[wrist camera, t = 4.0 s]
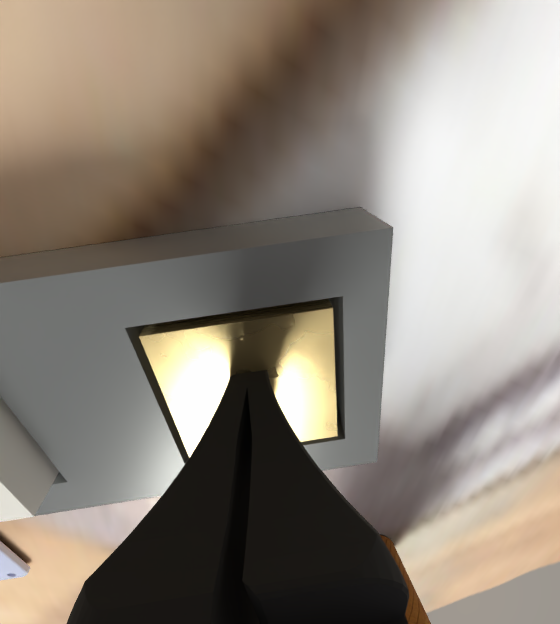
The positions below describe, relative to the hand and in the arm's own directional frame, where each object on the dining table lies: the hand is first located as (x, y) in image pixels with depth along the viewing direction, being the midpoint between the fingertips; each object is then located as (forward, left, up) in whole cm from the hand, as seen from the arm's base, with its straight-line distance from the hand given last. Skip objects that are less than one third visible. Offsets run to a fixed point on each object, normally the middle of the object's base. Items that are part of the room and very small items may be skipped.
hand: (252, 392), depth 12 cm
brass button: (0, 0, -3) cm, 3 cm away
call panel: (-6, 0, -3) cm, 7 cm away
